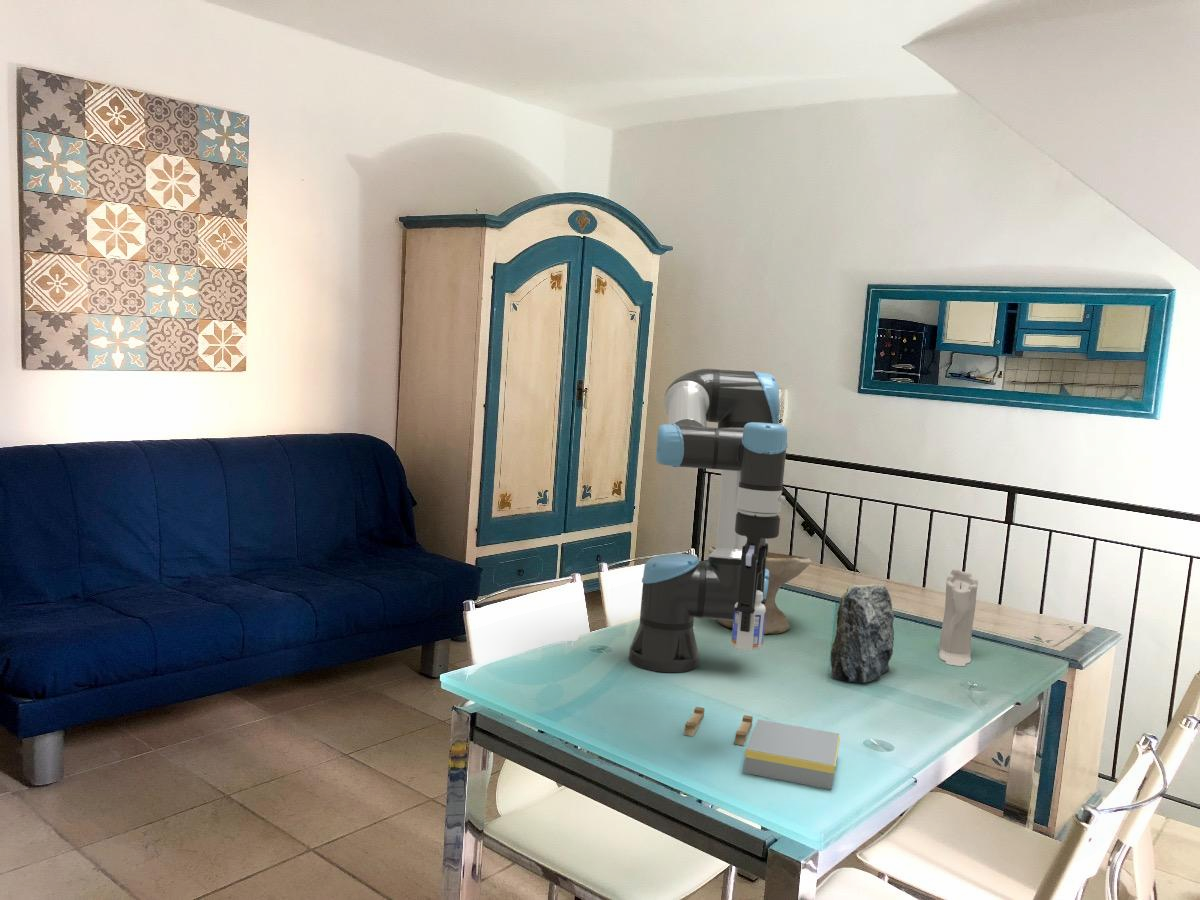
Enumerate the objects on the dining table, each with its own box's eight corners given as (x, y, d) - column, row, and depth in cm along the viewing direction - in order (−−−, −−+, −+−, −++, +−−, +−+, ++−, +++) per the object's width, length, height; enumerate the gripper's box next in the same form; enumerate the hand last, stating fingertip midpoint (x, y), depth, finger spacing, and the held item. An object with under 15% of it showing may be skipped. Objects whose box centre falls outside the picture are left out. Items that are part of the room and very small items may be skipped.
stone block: (859, 688, 204) (869, 595, 202) (823, 676, 211) (831, 585, 208) (903, 672, 217) (913, 585, 215) (868, 661, 223) (876, 576, 221)
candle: (939, 663, 226) (948, 578, 223) (938, 647, 239) (947, 566, 237) (972, 668, 223) (981, 583, 221) (970, 651, 236) (979, 570, 234)
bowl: (819, 624, 251) (826, 548, 249) (782, 646, 230) (790, 563, 228) (727, 605, 265) (734, 532, 263) (685, 624, 243) (691, 545, 241)
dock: (743, 772, 159) (745, 749, 159) (755, 740, 173) (757, 719, 172) (832, 790, 155) (835, 765, 155) (837, 755, 169) (840, 733, 168)
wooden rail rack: (684, 734, 173) (684, 725, 173) (695, 715, 183) (696, 706, 183) (743, 745, 170) (744, 735, 170) (751, 725, 180) (752, 716, 180)
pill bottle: (742, 639, 174) (746, 586, 173) (768, 647, 171) (773, 592, 170) (725, 645, 170) (729, 590, 169) (751, 652, 167) (756, 596, 166)
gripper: (772, 522, 158) (760, 662, 160) (787, 508, 176) (776, 635, 178) (726, 517, 161) (715, 654, 163) (746, 504, 178) (735, 628, 180)
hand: (747, 644), depth 170 cm, fingers closed on pill bottle, 5 cm apart
